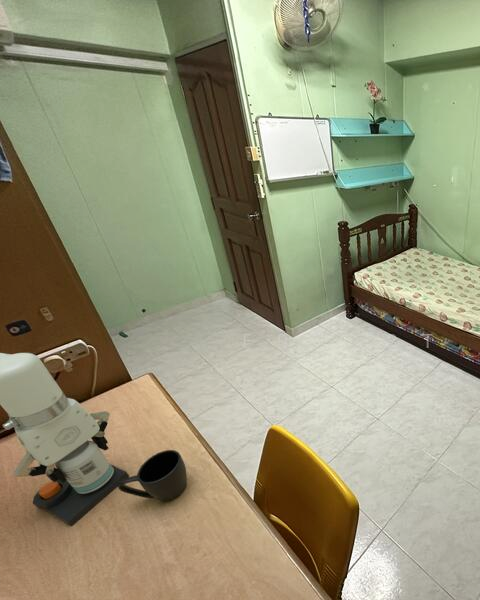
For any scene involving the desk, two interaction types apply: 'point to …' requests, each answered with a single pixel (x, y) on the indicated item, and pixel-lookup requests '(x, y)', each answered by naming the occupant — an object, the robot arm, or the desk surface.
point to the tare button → (49, 490)
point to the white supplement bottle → (85, 468)
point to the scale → (77, 499)
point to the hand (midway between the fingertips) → (83, 462)
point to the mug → (159, 477)
